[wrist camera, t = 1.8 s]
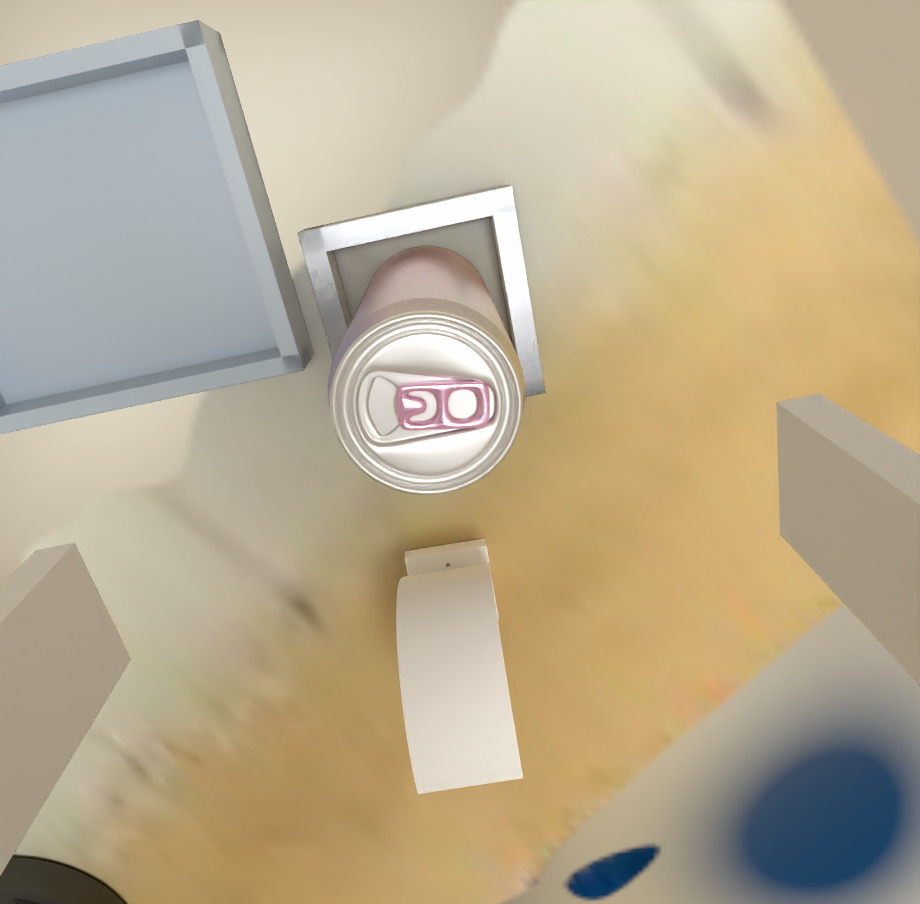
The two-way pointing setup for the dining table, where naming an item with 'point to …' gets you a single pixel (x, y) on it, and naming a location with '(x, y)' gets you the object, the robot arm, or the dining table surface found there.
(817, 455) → the robot arm
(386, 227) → the socket collar
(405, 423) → the beverage can
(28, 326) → the tray
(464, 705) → the white curved strip
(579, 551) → the dining table surface
